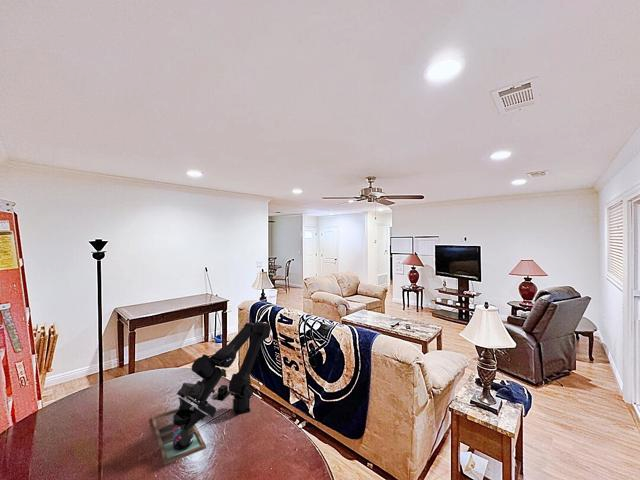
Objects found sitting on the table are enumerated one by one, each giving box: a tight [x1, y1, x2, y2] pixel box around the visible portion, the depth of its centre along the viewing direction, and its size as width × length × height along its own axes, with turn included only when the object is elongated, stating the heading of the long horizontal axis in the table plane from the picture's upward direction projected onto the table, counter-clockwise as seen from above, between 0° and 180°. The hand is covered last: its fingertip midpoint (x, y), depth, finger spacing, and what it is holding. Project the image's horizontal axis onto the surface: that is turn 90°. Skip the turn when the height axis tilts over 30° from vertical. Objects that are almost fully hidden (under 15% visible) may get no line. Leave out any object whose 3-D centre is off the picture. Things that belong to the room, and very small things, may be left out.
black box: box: [212, 384, 231, 402], centre depth 136 cm, size 12×7×5 cm, turn 168°
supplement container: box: [172, 408, 194, 450], centre depth 100 cm, size 7×7×10 cm
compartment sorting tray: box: [150, 407, 207, 466], centre depth 108 cm, size 31×13×1 cm, turn 38°
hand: (179, 426), depth 99 cm, fingers closed on supplement container, 7 cm apart
